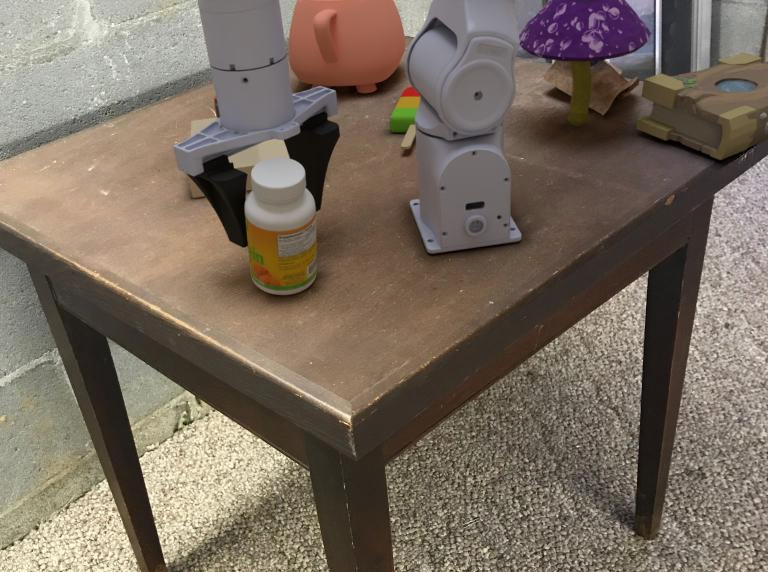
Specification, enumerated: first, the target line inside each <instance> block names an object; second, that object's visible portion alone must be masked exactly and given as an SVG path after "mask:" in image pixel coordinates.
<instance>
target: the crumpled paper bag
mask: <svg viewBox="0 0 768 572" xmlns="http://www.w3.org/2000/svg"><path fill="white" fill-rule="evenodd" d="M590 69H591V81H592V88H591V96H590V102H589V108H590V109H592V110H594V111H596V112H597V113H599V114H600V115H602V116H604V115H605V114H606V113H607V112H608V111H609V109H610V107H611V106H612V104H613V102H614V100H615V99H616V97H618V98H620V99H624V98H625V97H626V96H628V94H630V93H631V92H632V91H633V90H635V88H636V87H638V86H640V84H641V80H640V79H639V78H638V76H635V77H633V78H632V79H628V80H627V79H626V78H625V77H624V76H622V74H623V70H622V69H621V68H619V67H617V66H615V65H614V64H612V63H611V62H610V61H607V60H598V61H590ZM542 80H544V81H546V82H547V83H548V84H550V85H551V86H554V87H555V88H557V89H558V90H560V91H562V92H563V93H565V94H567V95H568V96H570V97H572V90H573V79H572V71H571V65H570V61H558V60H554V61H553V63H552V65H551V66H550V67H549V69H547V71H546V73H545V74H544V77H542Z"/></svg>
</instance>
